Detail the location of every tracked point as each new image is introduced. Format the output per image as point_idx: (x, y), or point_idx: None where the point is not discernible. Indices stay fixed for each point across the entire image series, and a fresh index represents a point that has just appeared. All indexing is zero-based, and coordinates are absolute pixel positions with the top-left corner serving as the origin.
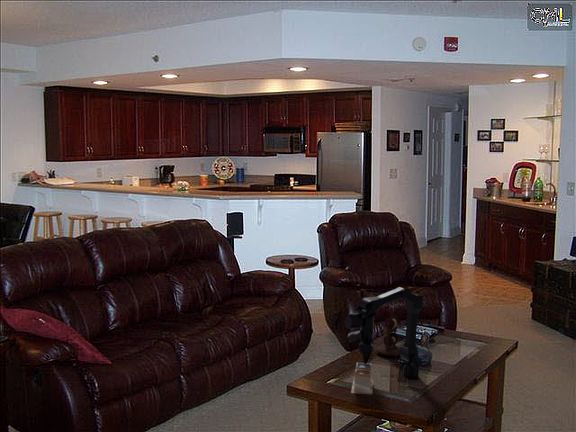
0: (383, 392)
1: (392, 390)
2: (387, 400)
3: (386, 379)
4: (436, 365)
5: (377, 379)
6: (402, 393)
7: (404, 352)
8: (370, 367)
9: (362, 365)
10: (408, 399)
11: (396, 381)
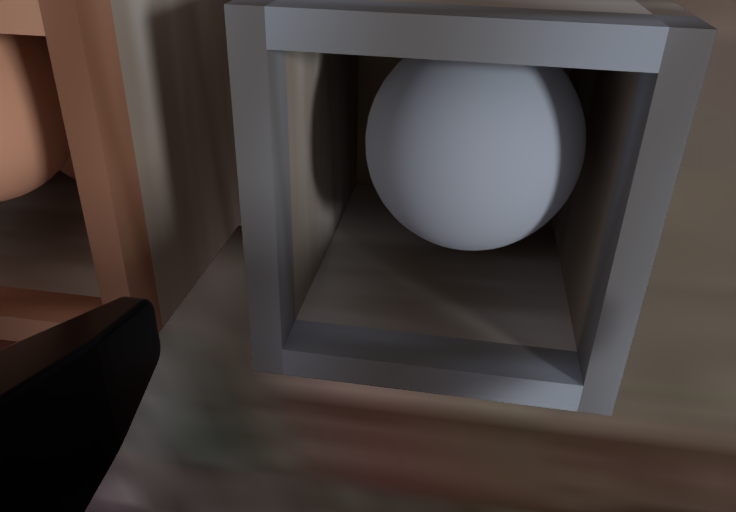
0: (222, 330)
1: (315, 422)
2: (10, 342)
3: (701, 413)
4: None
5: (702, 308)
6: (258, 490)
7: None
8: (315, 367)
9: (496, 193)
10: (125, 507)
11: (626, 499)
